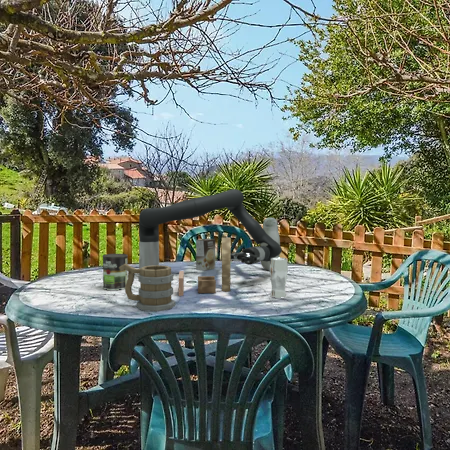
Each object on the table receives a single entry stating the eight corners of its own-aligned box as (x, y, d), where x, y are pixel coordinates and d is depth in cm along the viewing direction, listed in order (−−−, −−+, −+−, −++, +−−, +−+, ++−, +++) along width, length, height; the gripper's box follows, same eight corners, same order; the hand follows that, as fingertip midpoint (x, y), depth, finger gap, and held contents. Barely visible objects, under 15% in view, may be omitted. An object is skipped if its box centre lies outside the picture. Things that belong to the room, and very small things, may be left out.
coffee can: (118, 291, 173) (118, 257, 172) (97, 289, 176) (97, 256, 175) (132, 286, 182) (132, 254, 181) (112, 284, 186) (112, 253, 185)
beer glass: (275, 299, 160) (276, 260, 159) (265, 295, 167) (266, 258, 165) (290, 297, 164) (291, 259, 163) (280, 293, 170) (281, 257, 169)
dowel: (222, 291, 173) (222, 238, 172) (221, 289, 177) (221, 237, 175) (230, 291, 174) (231, 238, 172) (229, 289, 177) (230, 237, 176)
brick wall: (178, 295, 166) (178, 278, 165) (179, 287, 182) (179, 271, 181) (183, 295, 166) (183, 278, 165) (183, 287, 182) (183, 270, 181)
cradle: (198, 293, 170) (198, 280, 170) (197, 288, 179) (197, 276, 178) (215, 292, 170) (215, 280, 170) (214, 287, 179) (214, 276, 179)
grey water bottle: (259, 268, 229) (260, 216, 227) (278, 268, 229) (279, 217, 227) (260, 271, 220) (261, 217, 218) (280, 271, 219) (281, 218, 217)
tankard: (178, 303, 155) (178, 262, 154) (166, 312, 143) (166, 268, 141) (128, 299, 159) (128, 260, 158) (112, 308, 147) (111, 265, 146)
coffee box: (205, 270, 221) (205, 240, 220) (195, 269, 225) (195, 239, 224) (215, 268, 228) (215, 239, 227) (206, 267, 232) (206, 238, 231)
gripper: (240, 245, 196) (220, 249, 183) (267, 248, 188) (248, 252, 175) (240, 261, 197) (219, 266, 183) (267, 264, 189) (247, 269, 175)
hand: (233, 259), depth 179 cm, fingers open, 8 cm apart
